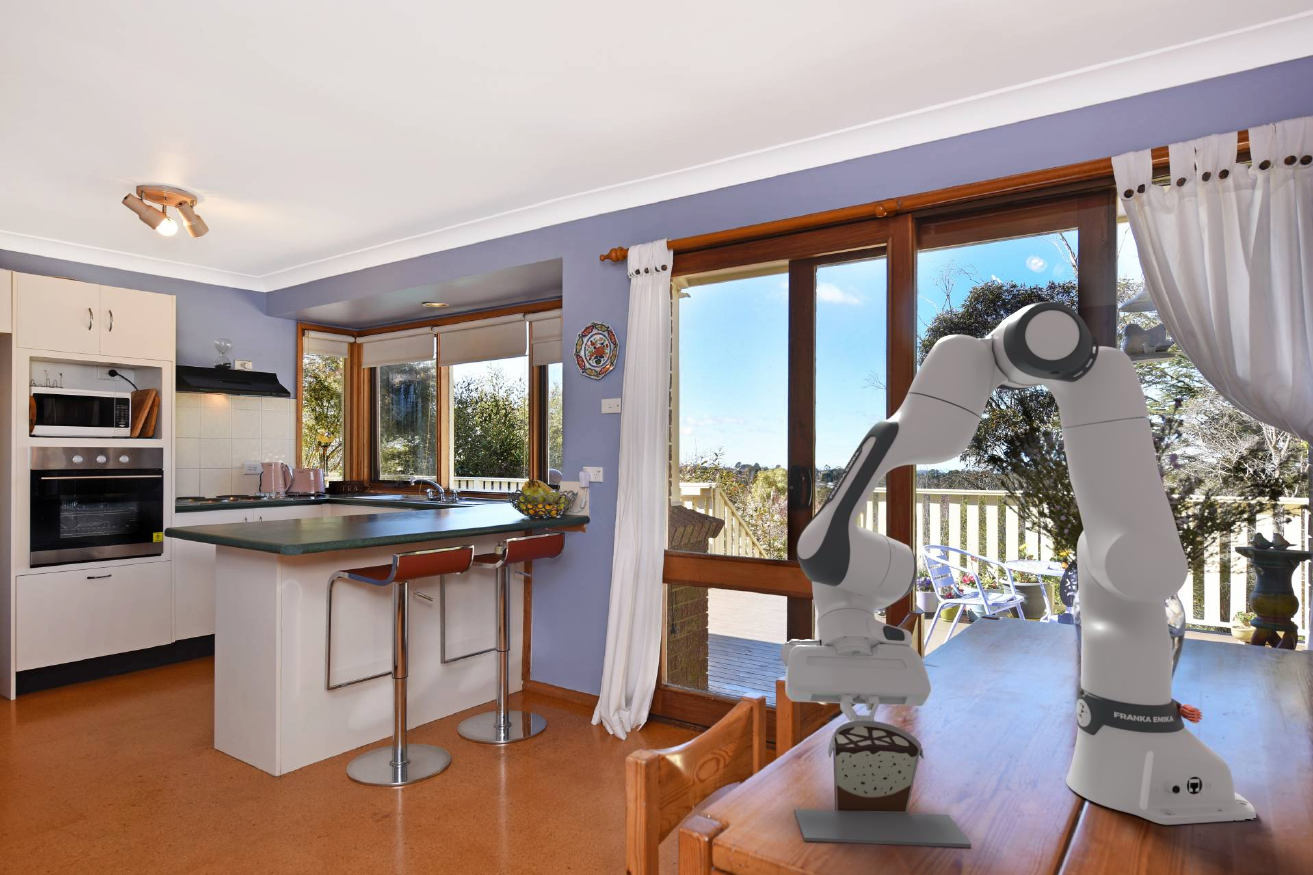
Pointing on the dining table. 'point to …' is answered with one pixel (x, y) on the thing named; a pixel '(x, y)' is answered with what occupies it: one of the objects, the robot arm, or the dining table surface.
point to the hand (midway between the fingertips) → (863, 730)
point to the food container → (873, 766)
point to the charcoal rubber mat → (879, 828)
